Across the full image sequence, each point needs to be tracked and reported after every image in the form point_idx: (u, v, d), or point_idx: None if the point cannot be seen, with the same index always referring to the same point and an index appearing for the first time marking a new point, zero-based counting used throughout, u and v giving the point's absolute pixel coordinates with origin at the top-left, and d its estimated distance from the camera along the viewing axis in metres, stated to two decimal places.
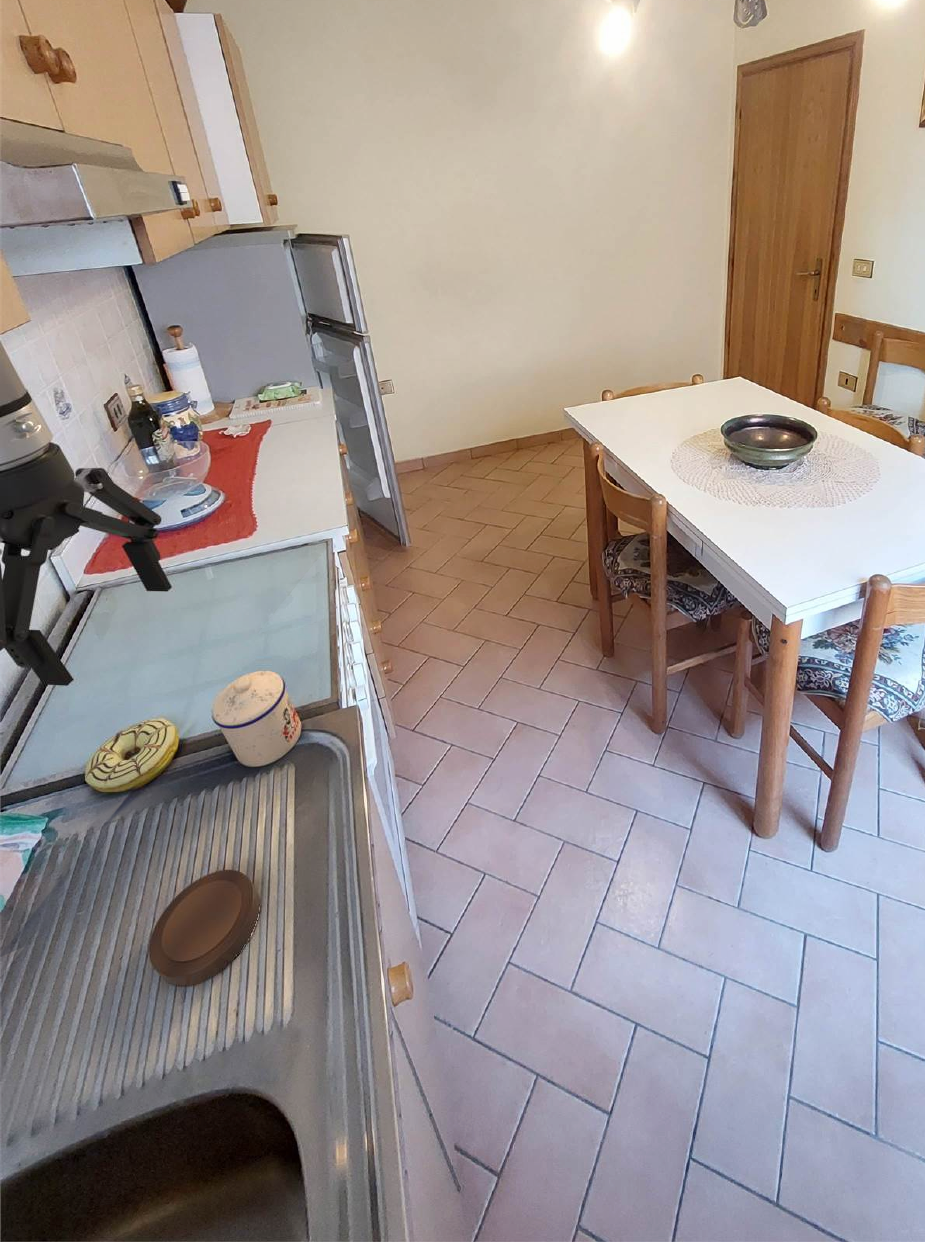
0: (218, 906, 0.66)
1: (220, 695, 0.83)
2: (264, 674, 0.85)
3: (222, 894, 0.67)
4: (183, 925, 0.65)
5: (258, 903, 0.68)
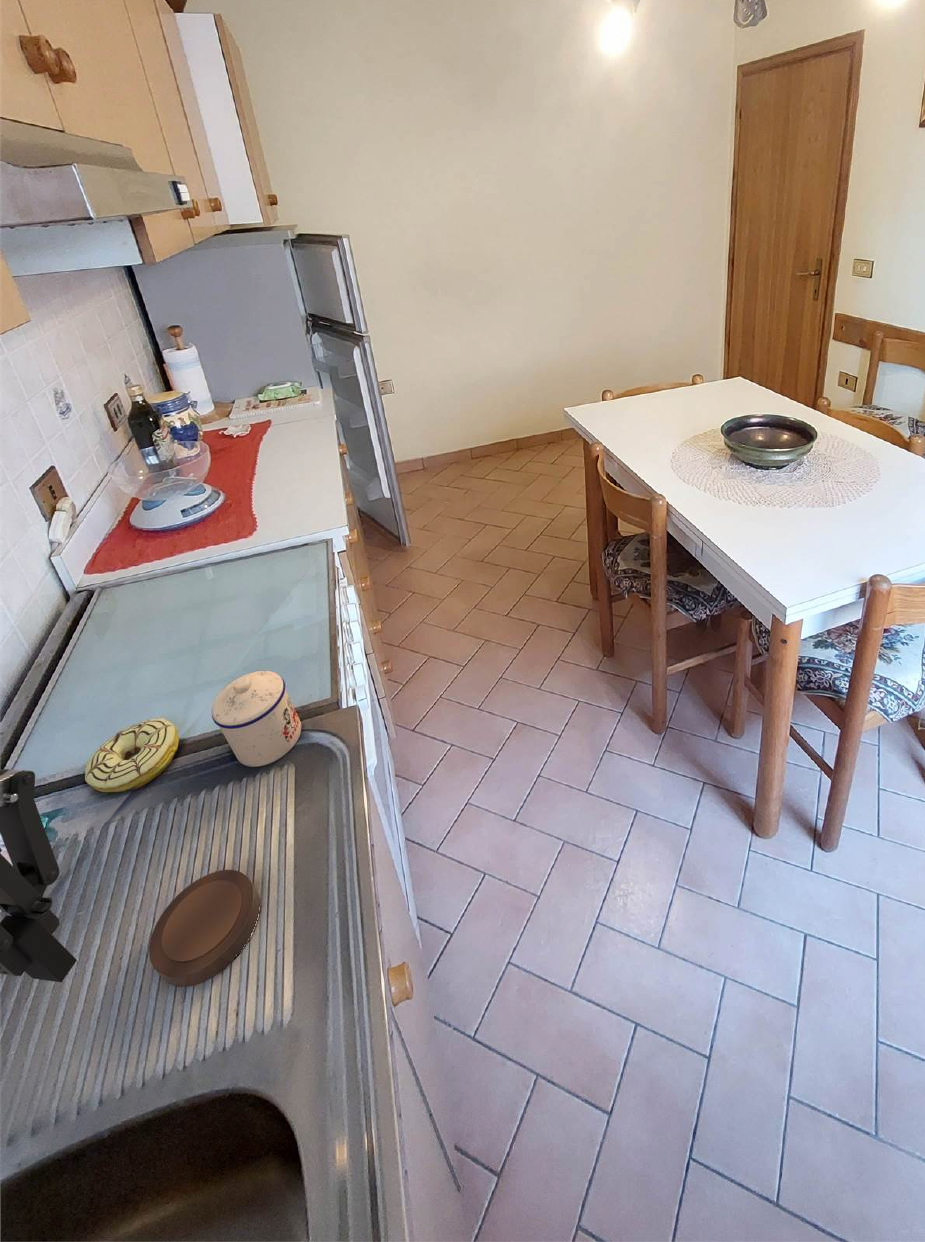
0: (218, 906, 0.66)
1: (220, 695, 0.83)
2: (264, 674, 0.85)
3: (222, 894, 0.67)
4: (183, 925, 0.65)
5: (258, 903, 0.68)
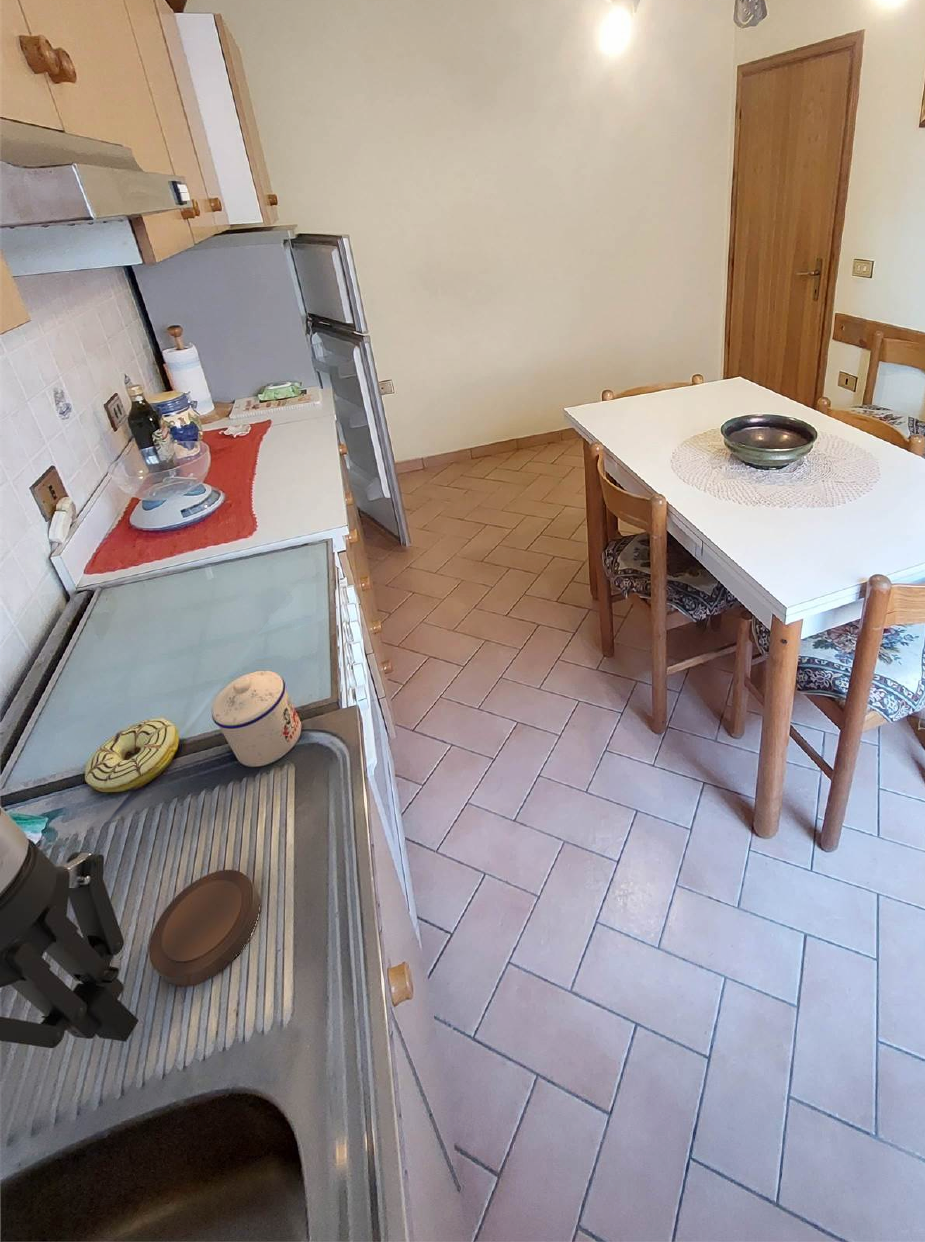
0: (218, 906, 0.66)
1: (220, 695, 0.83)
2: (264, 674, 0.85)
3: (222, 894, 0.67)
4: (183, 925, 0.65)
5: (258, 903, 0.68)
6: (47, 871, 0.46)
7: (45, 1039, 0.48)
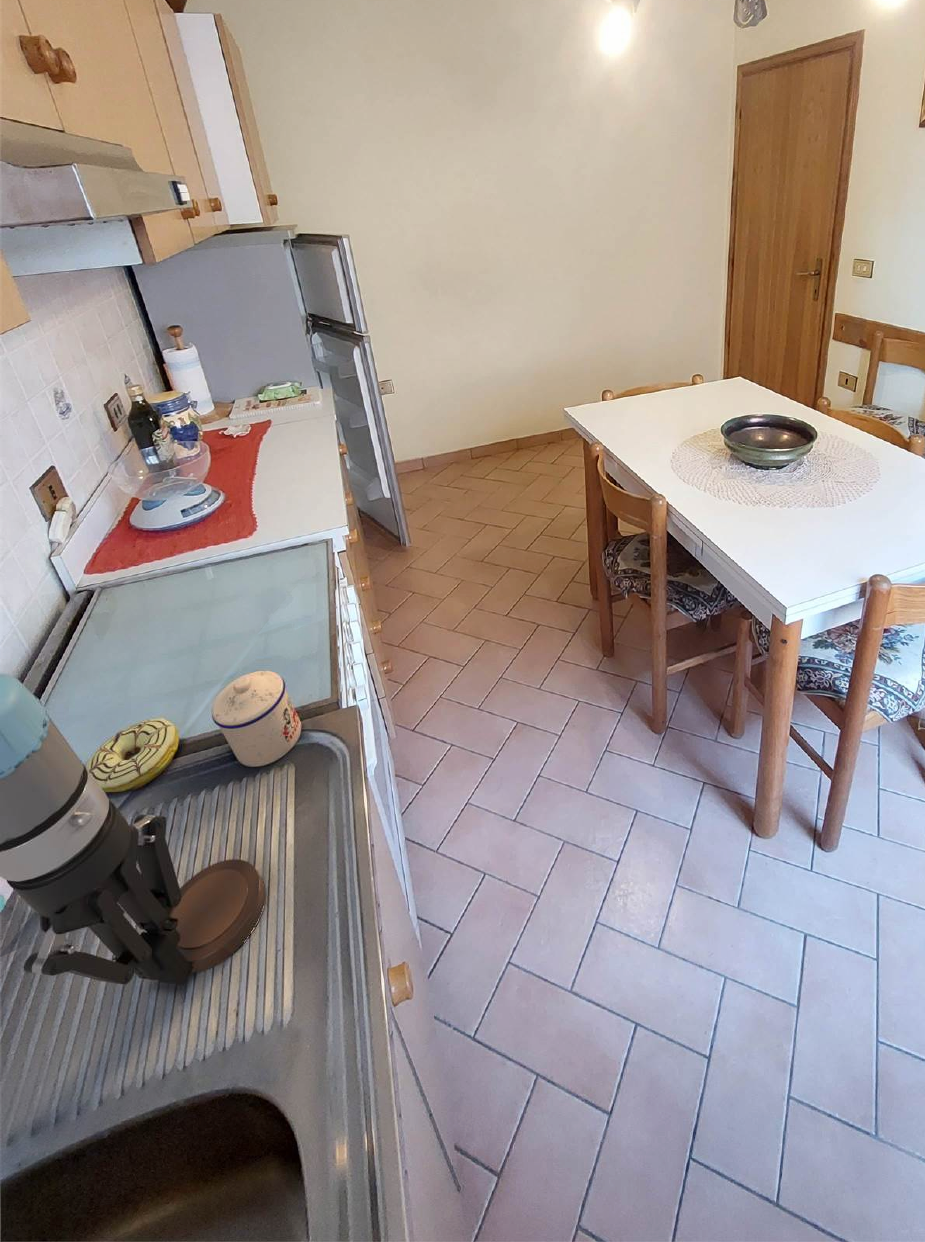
0: (224, 894, 0.67)
1: (220, 695, 0.83)
2: (264, 674, 0.85)
3: (228, 883, 0.68)
4: (190, 913, 0.66)
5: (264, 891, 0.69)
6: (124, 827, 0.53)
7: (119, 976, 0.54)
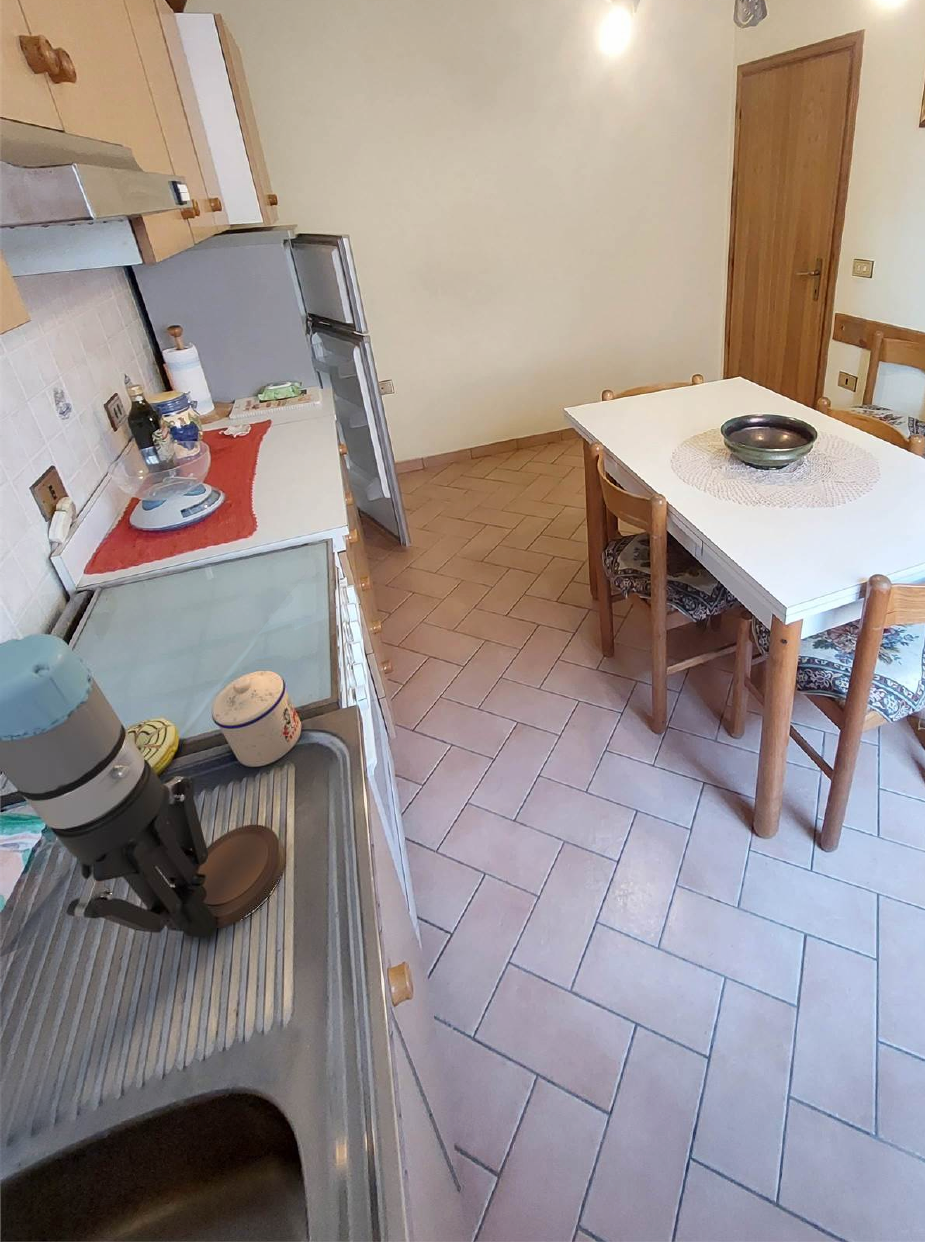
0: (246, 856, 0.71)
1: (220, 695, 0.83)
2: (264, 674, 0.85)
3: (249, 846, 0.72)
4: (214, 874, 0.69)
5: (283, 853, 0.72)
6: (157, 783, 0.56)
7: (152, 924, 0.58)
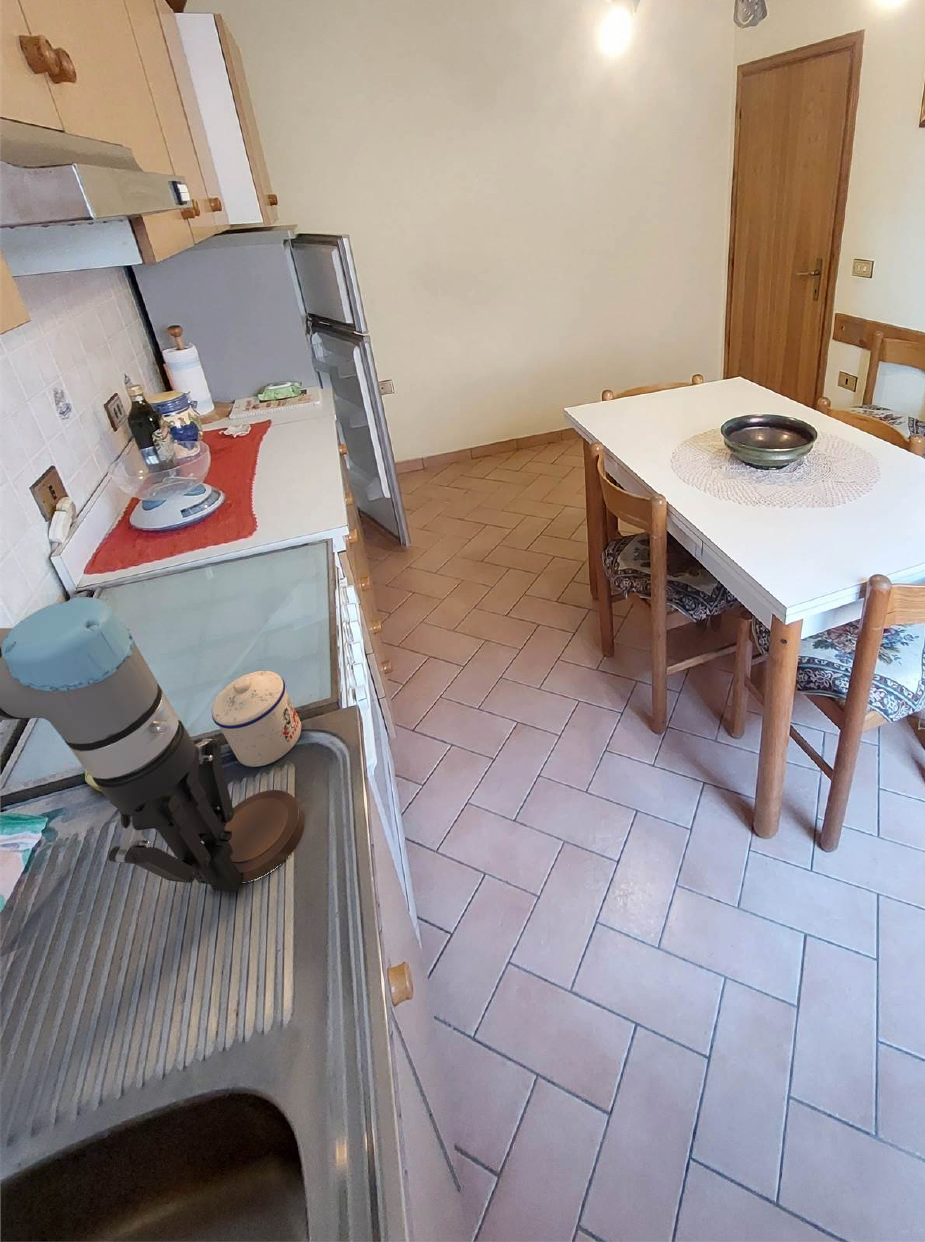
0: (267, 818, 0.75)
1: (220, 695, 0.83)
2: (264, 674, 0.85)
3: (269, 809, 0.76)
4: (237, 835, 0.73)
5: (302, 816, 0.76)
6: (190, 741, 0.60)
7: (185, 874, 0.61)
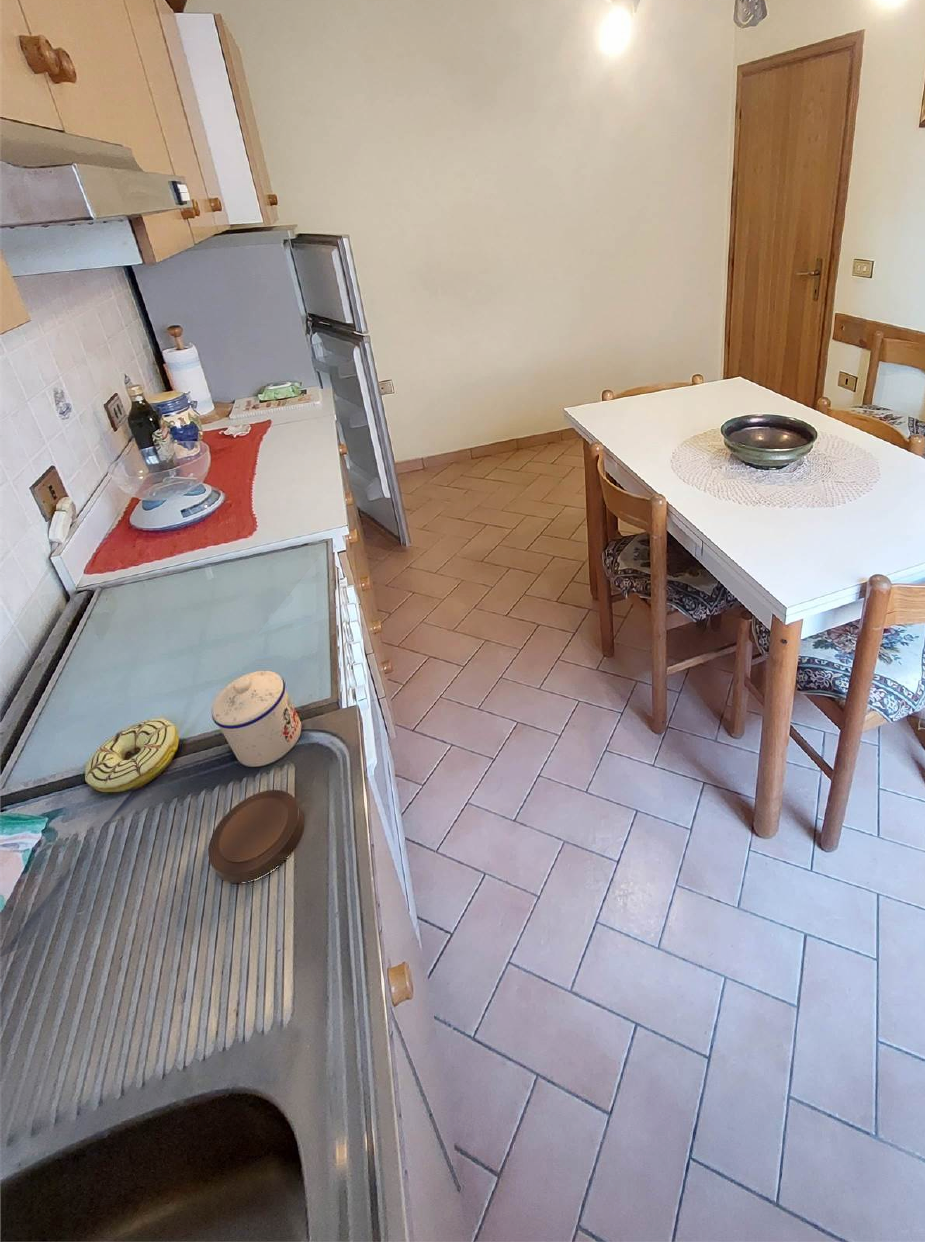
0: (267, 818, 0.75)
1: (220, 695, 0.83)
2: (264, 674, 0.85)
3: (269, 809, 0.76)
4: (237, 835, 0.73)
5: (302, 816, 0.76)
6: None
7: None
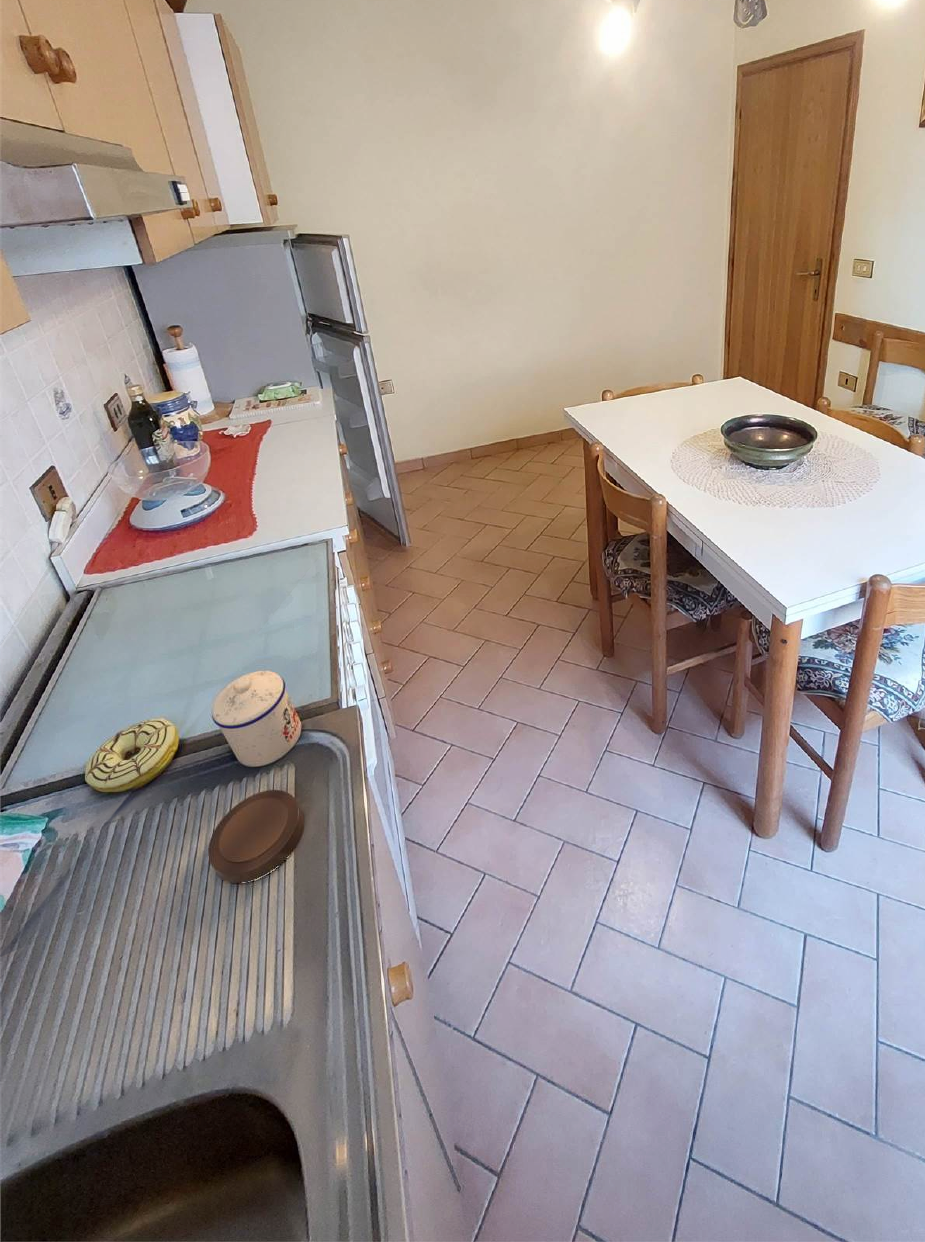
0: (267, 818, 0.75)
1: (220, 695, 0.83)
2: (264, 674, 0.85)
3: (269, 809, 0.76)
4: (237, 835, 0.73)
5: (302, 816, 0.76)
6: None
7: None
